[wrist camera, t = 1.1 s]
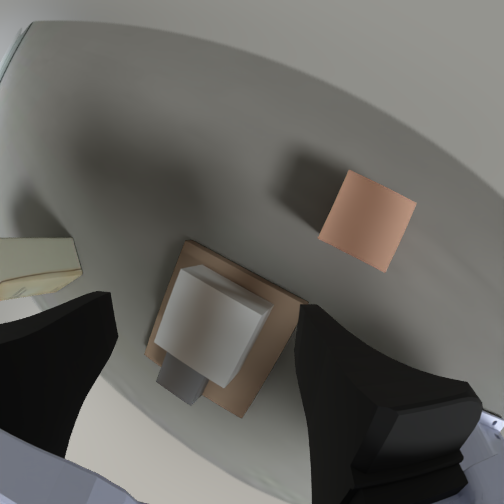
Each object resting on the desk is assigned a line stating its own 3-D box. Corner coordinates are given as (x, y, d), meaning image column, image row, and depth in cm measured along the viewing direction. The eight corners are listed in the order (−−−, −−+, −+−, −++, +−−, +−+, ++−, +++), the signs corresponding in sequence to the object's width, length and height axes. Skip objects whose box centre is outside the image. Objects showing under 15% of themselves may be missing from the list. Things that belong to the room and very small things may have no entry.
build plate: (308, 302, 21) (299, 317, 17) (245, 412, 23) (227, 438, 19) (191, 240, 23) (163, 241, 20) (150, 351, 25) (122, 365, 22)
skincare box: (57, 292, 30) (-32, 309, 18) (47, 256, 30) (-40, 264, 18) (85, 273, 28) (-18, 288, 16) (73, 233, 28) (-27, 236, 16)
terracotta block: (401, 210, 19) (416, 203, 14) (376, 264, 19) (385, 272, 15) (349, 184, 20) (348, 169, 15) (325, 237, 20) (317, 238, 16)
